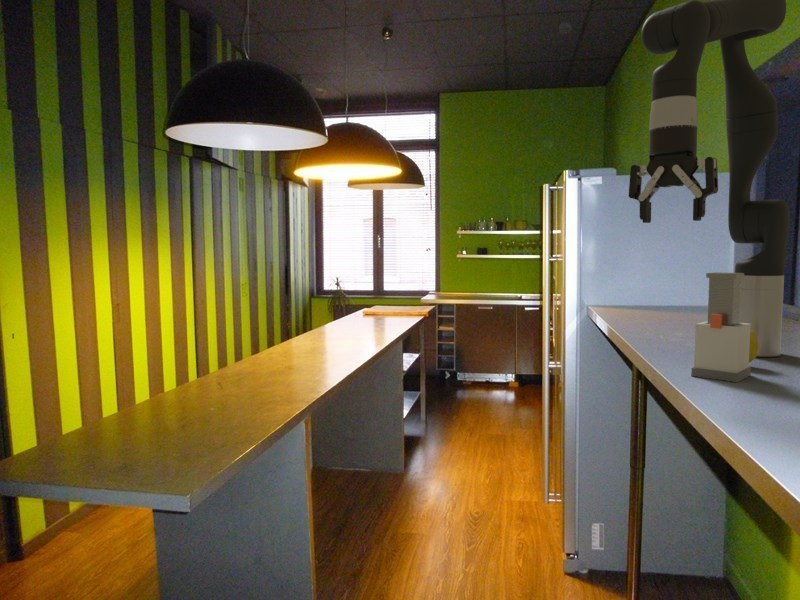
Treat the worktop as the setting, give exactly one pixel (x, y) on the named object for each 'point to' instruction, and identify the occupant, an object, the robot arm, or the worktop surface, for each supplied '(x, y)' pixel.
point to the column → (724, 296)
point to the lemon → (753, 346)
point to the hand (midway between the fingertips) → (671, 221)
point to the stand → (722, 350)
